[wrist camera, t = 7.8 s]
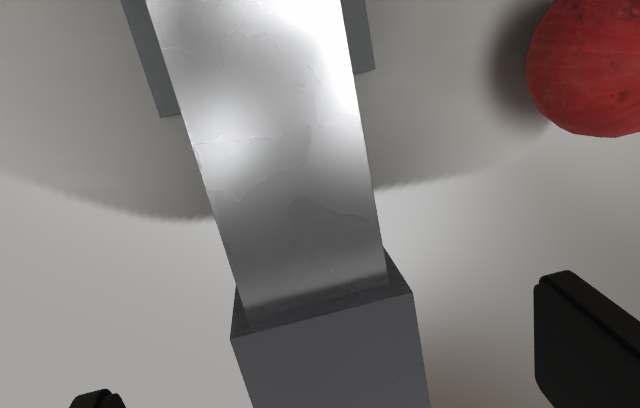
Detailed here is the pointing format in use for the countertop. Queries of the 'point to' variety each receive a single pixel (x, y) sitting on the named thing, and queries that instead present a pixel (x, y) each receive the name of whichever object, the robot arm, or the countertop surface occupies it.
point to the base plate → (157, 68)
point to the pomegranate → (588, 66)
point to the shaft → (293, 202)
